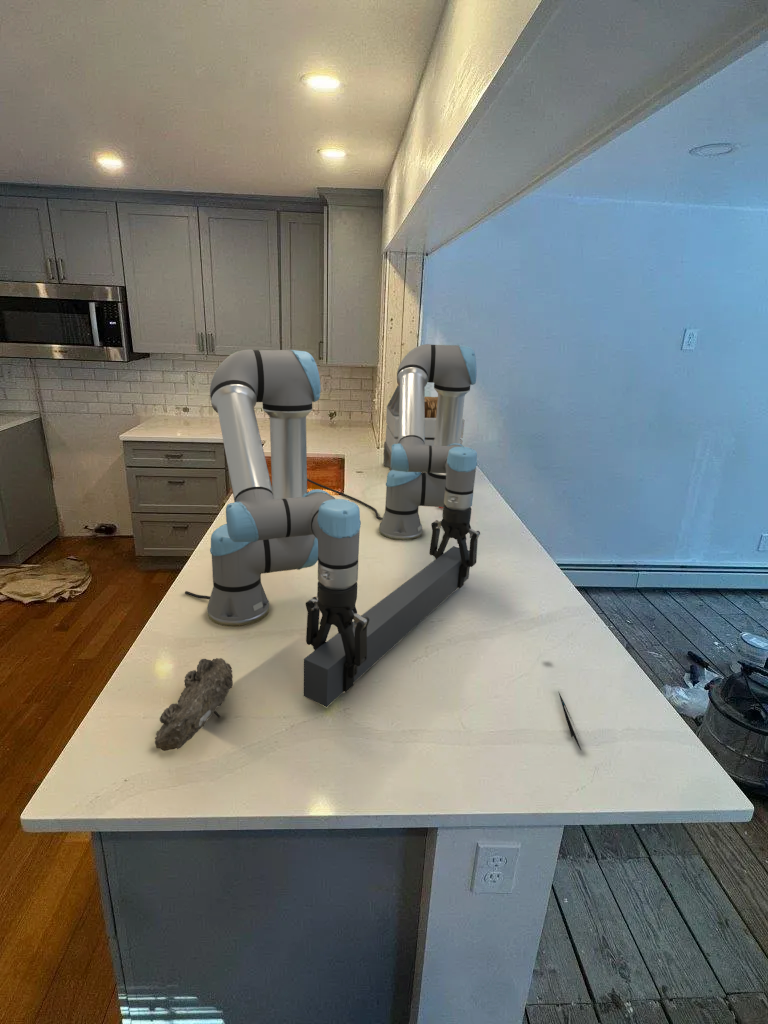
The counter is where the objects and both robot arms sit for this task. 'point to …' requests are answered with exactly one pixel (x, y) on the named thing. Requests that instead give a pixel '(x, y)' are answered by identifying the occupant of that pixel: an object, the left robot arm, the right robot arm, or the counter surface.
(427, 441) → the grey storage crate
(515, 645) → the counter surface
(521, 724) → the counter surface
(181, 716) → the fossil
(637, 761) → the counter surface
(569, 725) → the feather
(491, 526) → the counter surface
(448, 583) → the bar
